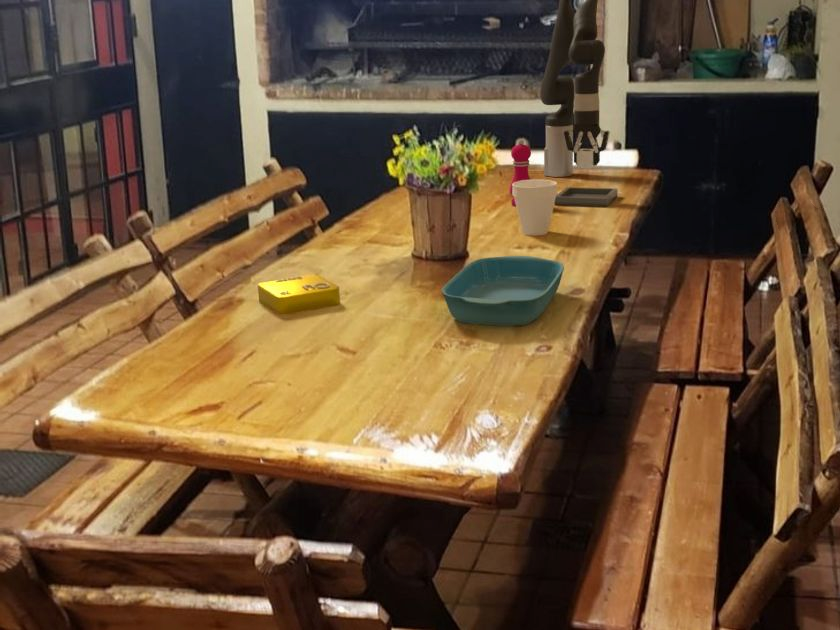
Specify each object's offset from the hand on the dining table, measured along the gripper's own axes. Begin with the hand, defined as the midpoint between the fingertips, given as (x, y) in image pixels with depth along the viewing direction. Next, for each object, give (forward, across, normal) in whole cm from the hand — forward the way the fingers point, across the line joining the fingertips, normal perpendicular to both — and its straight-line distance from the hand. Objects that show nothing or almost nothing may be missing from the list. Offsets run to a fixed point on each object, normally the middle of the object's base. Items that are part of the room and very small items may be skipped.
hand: (586, 164), depth 353 cm
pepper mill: (+11, +18, +9) cm, 23 cm away
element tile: (+12, +38, +122) cm, 128 cm away
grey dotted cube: (+1, 0, 0) cm, 1 cm away
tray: (+11, 0, 0) cm, 11 cm away
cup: (+11, +4, +45) cm, 47 cm away
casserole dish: (+12, -8, +115) cm, 116 cm away
